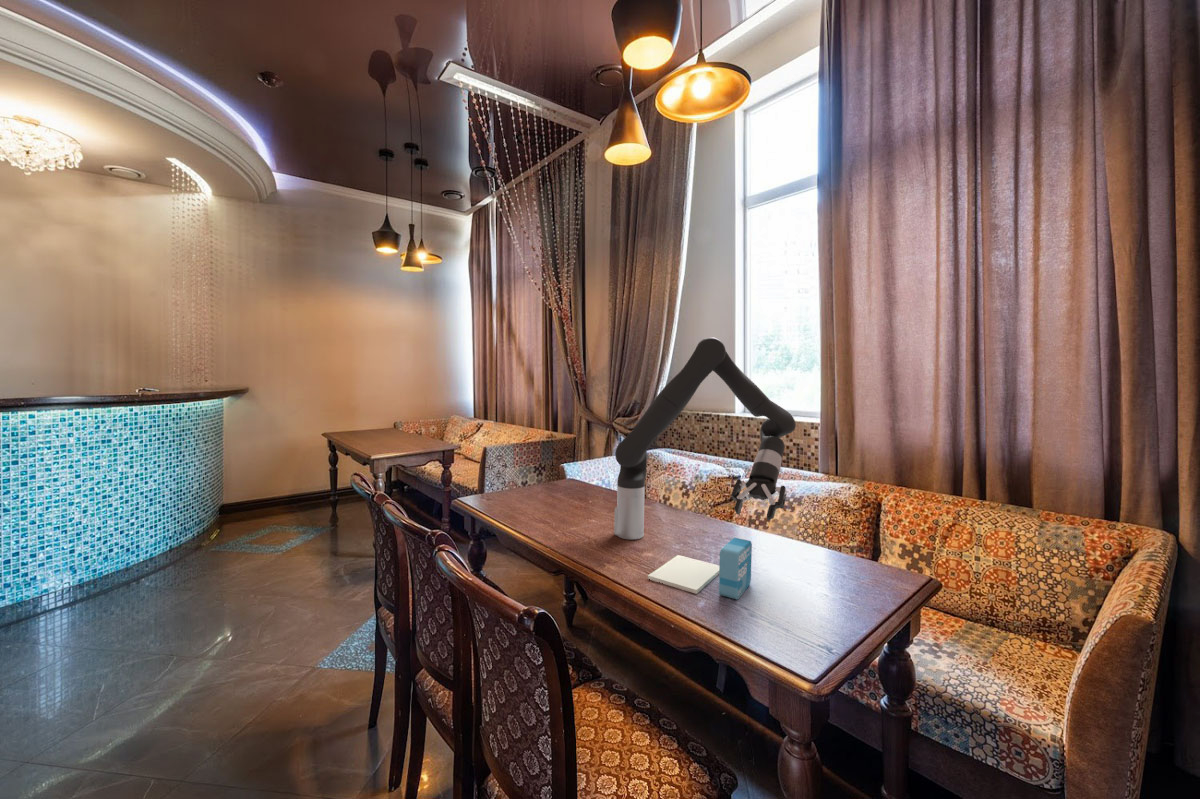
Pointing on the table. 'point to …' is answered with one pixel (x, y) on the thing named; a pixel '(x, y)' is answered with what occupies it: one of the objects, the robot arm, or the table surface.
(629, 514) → the robot arm
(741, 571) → the data package
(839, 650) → the table surface
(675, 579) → the cream mat
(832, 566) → the table surface
